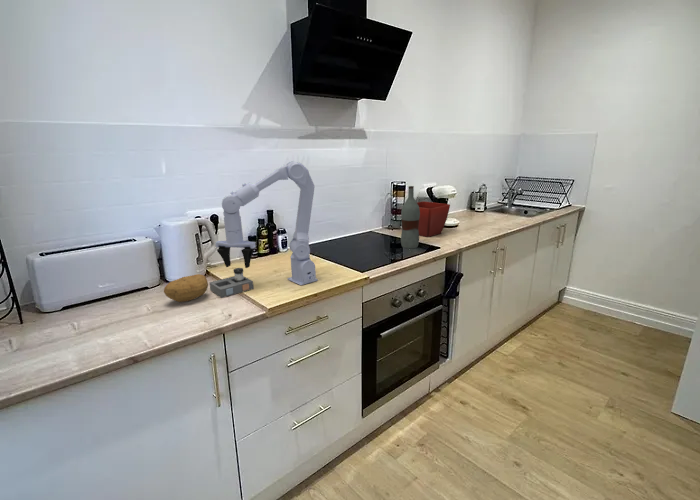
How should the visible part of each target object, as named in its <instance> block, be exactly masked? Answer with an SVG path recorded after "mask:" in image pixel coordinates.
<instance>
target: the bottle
mask: <svg viewBox="0 0 700 500" xmlns="http://www.w3.org/2000/svg"><path fill="white" fill-rule="evenodd" d="M414 190H415V186H414V185H408V190H407V191H408V193H407V194H408V195H407V196H408V197H407V199H406V200H405V202H404V203H403V205H402V207H401V212H400V216H401V217H400V218H401V233H400V244H401V248H404V249H409V250H410V249H417V248H418V246H419V243H420V235H419V231H418V227H419V218H420V209H419V206H418V204H417V201H416V199H415V197H414V193H415V191H414Z"/></svg>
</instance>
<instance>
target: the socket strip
mask: <svg viewBox="0 0 700 500" xmlns="http://www.w3.org/2000/svg"><path fill="white" fill-rule="evenodd" d="M243 278H244V281H241V282H237V283H235V275H233V276H230V277H225V278H222V279H219V280H213V281H210V282H208V285H209V290H210V291H211V292H212V293H214V294H215V295H217V296H218V297H220V298H221V299H222V298H225V297H229V296H233V295H238V294H241V293H244V292H247V290H248V291H251V289H252V290H254V280H252V279H250V278H248V277H246V276H244V275H243ZM243 291H244V292H243Z"/></svg>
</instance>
